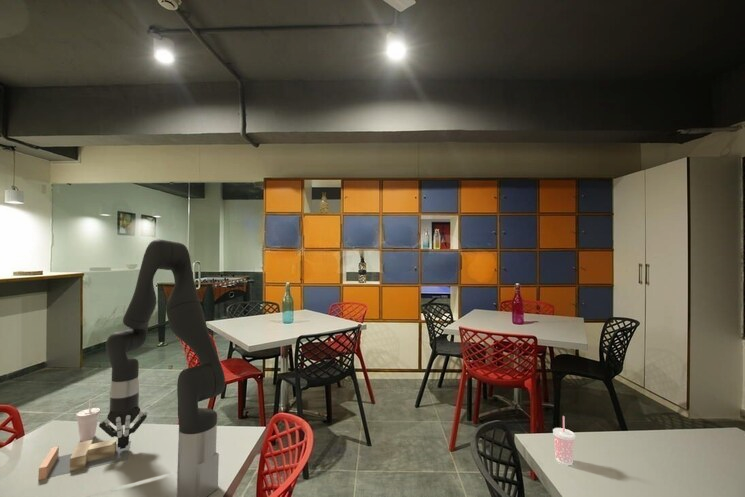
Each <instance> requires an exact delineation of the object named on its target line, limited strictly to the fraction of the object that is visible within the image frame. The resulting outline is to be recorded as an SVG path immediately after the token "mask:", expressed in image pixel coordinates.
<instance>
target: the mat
mask: <svg viewBox="0 0 745 497" xmlns="http://www.w3.org/2000/svg"><path fill="white" fill-rule="evenodd" d="M131 443H132V440H129V444H128V446H126V448H123V449H120V447H119V448H118V443H116V452H115V455H114V456H110V457H106V458H101V459H97V460H92V461H88V462H87V464H86V466H85V467H84V468H80V469H76V470H71V471H69V470H70V458H71V456H72V454H73V453H69V454H65V455H61V456H59V455H58V458H57V460H56V462H55V464H54V465H53V467H52V469H51V471H50V472H49V474H48V476H47V478H45V479H50V478H53V477H54V478H55V477H57V476H61V475H66V474H70V473H75V472H78V471H83V470H87V469H91V468H96V467H100V466H104V465H108V464H112V463H116V462H121V461H126V460H128V457H129V453H130V448H131ZM45 479H44V480H45ZM41 480H43V479H41Z"/></svg>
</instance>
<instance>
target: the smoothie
mask: <svg viewBox="0 0 745 497" xmlns="http://www.w3.org/2000/svg"><path fill="white" fill-rule="evenodd" d="M88 401H89V403H88V408H85V409H84V410H80V411H78V412H76V413H75V414H76V416H75V418H76V419H77V425H78V426H77V427H78V435H79V442H83V441H88V440H94V438H95V437H96V432H97V427H98V421H99V415H100V414H101V409H100V408H98V407H92V398H89V399H88Z"/></svg>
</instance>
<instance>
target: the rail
mask: <svg viewBox="0 0 745 497" xmlns="http://www.w3.org/2000/svg"><path fill="white" fill-rule="evenodd" d="M59 450H60V446H58V445H57V446H54V447H51V448H50V449H49V452H48V453H47V455H46V457H45V458H44V460H43V461H42V463H41V464H40V466H39V467H38V475H37V476H38V477H37V478H38V481H40V480H41V479H42V480H45V478H46V479H48V478H47V476H48V474H49V472H50V471H51V469H52V467H53V465H54V464H55V462H56V460H57V458H58V457H59V452H60V451H59Z"/></svg>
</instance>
